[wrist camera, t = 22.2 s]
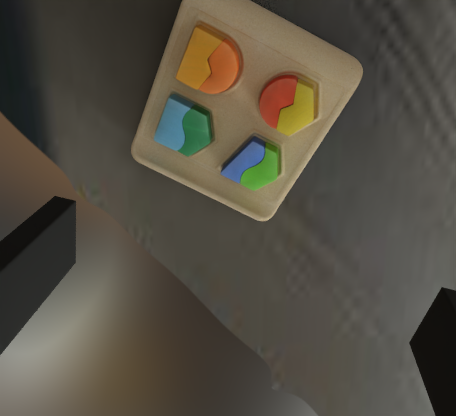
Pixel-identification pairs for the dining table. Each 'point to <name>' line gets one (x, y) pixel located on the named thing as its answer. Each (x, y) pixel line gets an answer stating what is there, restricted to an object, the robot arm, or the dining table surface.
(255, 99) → the puzzle board
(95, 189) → the dining table surface
